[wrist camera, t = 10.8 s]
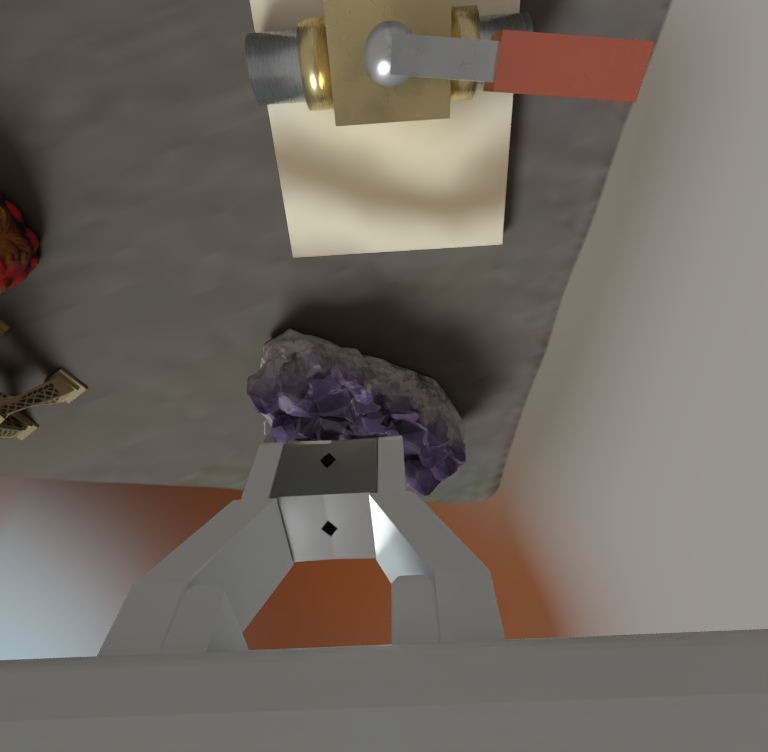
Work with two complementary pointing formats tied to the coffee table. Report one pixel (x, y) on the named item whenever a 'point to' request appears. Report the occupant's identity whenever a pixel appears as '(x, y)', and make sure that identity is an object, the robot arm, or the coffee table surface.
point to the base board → (390, 166)
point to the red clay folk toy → (15, 246)
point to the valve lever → (512, 62)
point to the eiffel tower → (34, 400)
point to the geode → (356, 404)
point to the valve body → (346, 60)
